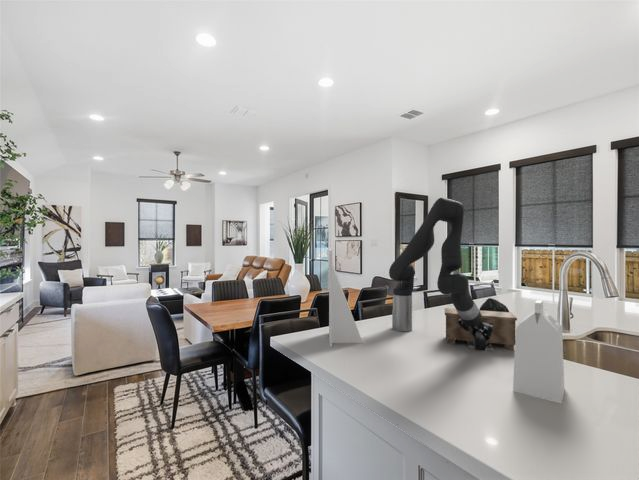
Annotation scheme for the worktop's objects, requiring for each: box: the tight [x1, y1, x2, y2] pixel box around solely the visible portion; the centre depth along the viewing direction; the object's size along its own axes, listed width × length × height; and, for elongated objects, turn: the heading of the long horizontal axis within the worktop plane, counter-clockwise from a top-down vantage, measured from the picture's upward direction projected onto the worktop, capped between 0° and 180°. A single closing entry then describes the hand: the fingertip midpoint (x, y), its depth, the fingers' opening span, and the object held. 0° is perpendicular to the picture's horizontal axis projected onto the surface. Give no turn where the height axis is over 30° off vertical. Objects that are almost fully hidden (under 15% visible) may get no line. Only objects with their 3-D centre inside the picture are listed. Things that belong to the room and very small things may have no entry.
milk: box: [512, 299, 565, 404], centre depth 97 cm, size 12×12×26 cm
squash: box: [478, 297, 510, 312], centre depth 172 cm, size 14×15×15 cm
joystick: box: [465, 329, 494, 352], centre depth 137 cm, size 9×12×10 cm
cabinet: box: [444, 307, 518, 351], centre depth 142 cm, size 27×11×13 cm, turn 70°
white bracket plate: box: [328, 248, 364, 347], centre depth 147 cm, size 20×14×40 cm
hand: (482, 336), depth 135 cm, fingers closed on joystick, 4 cm apart
